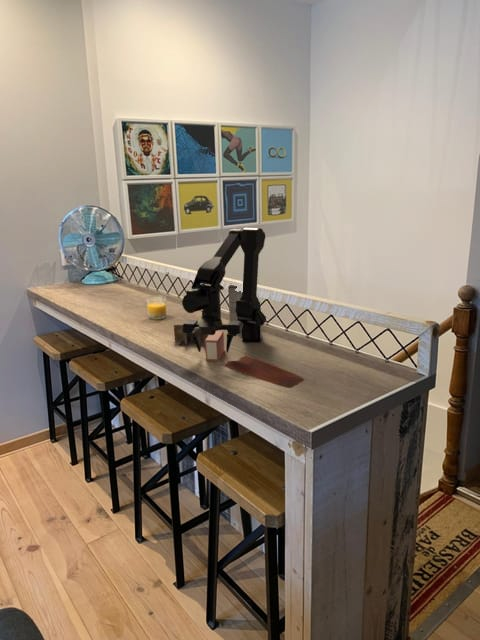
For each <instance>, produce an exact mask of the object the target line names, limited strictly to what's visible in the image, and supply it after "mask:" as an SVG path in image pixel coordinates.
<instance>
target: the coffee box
mask: <svg viewBox="0 0 480 640" xmlns="http://www.w3.org/2000/svg"><path fill="white" fill-rule="evenodd" d="M236 288H237V286H234V285H231V284H229V285H228V286H227V290H228V291H227V292H228V311H229V315H228V316H229V322H230V321H238V318H237V315H236V312H235V310H236V301H237V300H240V298H241V297H242V293H241V291H239V292H237V291H235V289H236ZM242 326H243V323H242Z"/></svg>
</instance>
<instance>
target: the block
mask: <svg viewBox="0 0 480 640" xmlns="http://www.w3.org/2000/svg"><path fill="white" fill-rule="evenodd" d="M224 331H225V330H218V331H216V333H215V334H214V335H208V337H207V338H206V340H205V346H204V347H205V361H208V362H210V361H212V362H219V361H220V359H221V357H222V355H223V353H224V352H225V335H224V334H225V333H224Z"/></svg>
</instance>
